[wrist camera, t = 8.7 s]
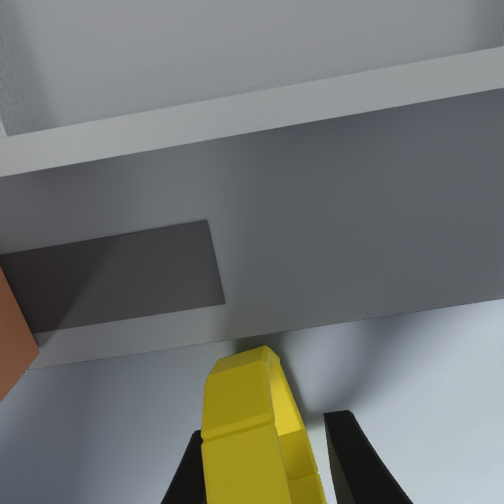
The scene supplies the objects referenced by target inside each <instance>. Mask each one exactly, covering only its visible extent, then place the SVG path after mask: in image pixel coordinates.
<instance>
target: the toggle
mask: <svg viewBox="0 0 504 504" xmlns="http://www.w3.org/2000/svg"><path fill="white" fill-rule="evenodd" d="M39 354H40V350H39V348H38V346H37V344H36V342H35V340H34V338H33V335H32V333H31V331H30V329H29V327H28V325H27V323H26V320H25V318H24V316H23V314H22V312H21V310H20V308H19V305H18V303H17V301H16V299H15V297H14V295H13V293H12V290H11V288H10V286H9V284H8V282H7V280H6V278H5V276H4V273H3V271H2V269H1V267H0V402H1V401H2V400H3V399H4V397H5V396H6V395H7V394H8V392H9V391H10V390H11V389H12V387H13V386H14V385H15V384H16V382H17V381H18V380H19V379H20V377H21V376H22V375H23V374H24V373H25V371H26V370H27V369H28V368H29V366H30V365H31V364H32V363H33V361H34V360H35V359H36V358H37V356H38V355H39Z"/></svg>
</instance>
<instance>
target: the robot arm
mask: <svg viewBox="0 0 504 504" xmlns="http://www.w3.org/2000/svg"><path fill="white" fill-rule="evenodd" d="M323 414H324V422H325V430H326V438H327V446H328V454H329V462H330V470H331V475H332V480H333V485H334V490H335V495H336V499H337V504H413V503H412V501H411V500H410V499H409V497H408V496H407V495H406V493H405V492H404V491H403V489H402V488H401V487H400V485H399V484H398V483H397V481H396V480H395V479H394V477H393V476H392V474H391V473H390V472H389V470H388V469H387V467H386V466H385V465H384V463H383V462H382V460H381V459H380V457H379V456H378V454H377V453H376V451H375V450H374V448H373V447H372V445H371V444H370V442H369V441H368V439H367V437H366V436H365V434H364V432H363V431H362V429H361V427H360V426H359V424H358V422H357V420H356V418H355V416H354V414H353V413H352V412H350V411H349V410H344V411H336V412H329V413H323ZM203 441H204V440H203V439H202V437H201V430H196V431H195V432H194V433H193V434H192V437H191V439H190V441H189V444H188V446H187V449H186V451H185V453H184V456H183V458H182V460H181V462H180V465H179V467H178V469H177V471H176V473H175V475H174V478H173V480H172V482H171V484H170V486H169V488H168V490H167V492H166V494H165V496H164V498H163V500H162V502H161V504H207V497H206V487H205V478H204V469H203V459H202V450H201V445H202V443H203Z"/></svg>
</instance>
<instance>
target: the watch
mask: <svg viewBox="0 0 504 504" xmlns="http://www.w3.org/2000/svg"><path fill="white" fill-rule="evenodd" d="M279 361H280V358H279V356H277V355H276V354H275V353H274V352H273V350H272V349H271V348H269V347H268V346H266V345H264V346H261V347H257V348H254V349H251V350H247V351H244V352H241V353H238V354H234V355H231V356H228V357H224V358H221V359H218V361H217V362H216V364H215V366H214V367H213V369H212V371H211V372H210V374H209V376H208V377H207V379H206V384H205V386H204V398H203V412H202V426H201V437H202V439H203V440H204V441H203V443H202V445H201V450H202V459H203V469H204V478H205V487H206V497H207V504H327V502H326V498H325V494H324V490H323V486H322V482H321V479H320V475H319V474H318V473H317V472H318V468H317V464H316V461H315V458H314V454H313V451H312V447H311V444H310V441H309V437H308V434H307V431H306V427H305V425H304V423H303V420H302V418H301V415H300V413H299V410H298V408H297V405H296V403H295V400H294V397H293V395H292V392H291V390H290V387H289V385H288V382H287V380H286V377H285V374H284V372H283V369H282V367H281V364H280V362H279Z"/></svg>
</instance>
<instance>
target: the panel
mask: <svg viewBox="0 0 504 504" xmlns="http://www.w3.org/2000/svg"><path fill="white" fill-rule="evenodd" d="M0 267H1V269H2V271H3V273H4V276H5V278H6V280H7V282H8V284H9V286H10V288H11V290H12V293H13V295H14V297H15V299H16V301H17V303H18V305H19V308H20V310H21V312H22V314H23V316H24V318H25V320H26V323H27V325H28V327H29V329H30V331H31V333H32V335H33V338H34V340H35V342H36V344H37V346H38V348H39V350H40V354H39V355H38V356H37V358H36V359H35V360H34V361H33V363H32V364H31V365H30V366H29V368H28V369H27V370H32V369H38V368H45V367H51V366H58V365H65V364H71V363H78V362H85V361H91V360H98V359H105V358H111V357H118V356H125V355H131V354H138V353H145V352H151V351H158V350H165V349H171V348H178V347H185V346H191V345H198V344H205V343H211V342H218V341H225V340H231V339H238V338H245V337H251V336H258V335H264V334H271V333H278V332H284V331H291V330H298V329H304V328H311V327H318V326H324V325H331V324H338V323H344V322H351V321H358V320H364V319H371V318H378V317H384V316H391V315H398V314H404V313H411V312H418V311H424V310H431V309H438V308H444V307H451V306H458V305H464V304H471V303H477V302H484V301H491V300H497V299H504V88H499V89H493V90H487V91H482V92H476V93H470V94H465V95H459V96H453V97H448V98H442V99H436V100H431V101H425V102H420V103H414V104H408V105H403V106H397V107H391V108H386V109H380V110H374V111H369V112H363V113H358V114H352V115H346V116H341V117H335V118H329V119H324V120H318V121H312V122H307V123H301V124H295V125H290V126H284V127H279V128H273V129H267V130H262V131H256V132H250V133H245V134H239V135H233V136H228V137H222V138H216V139H211V140H205V141H200V142H194V143H188V144H183V145H177V146H171V147H166V148H160V149H154V150H149V151H143V152H138V153H132V154H126V155H121V156H115V157H109V158H104V159H98V160H92V161H87V162H81V163H75V164H70V165H64V166H59V167H53V168H47V169H42V170H36V171H30V172H25V173H19V174H13V175H8V176H2V177H0Z"/></svg>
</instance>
